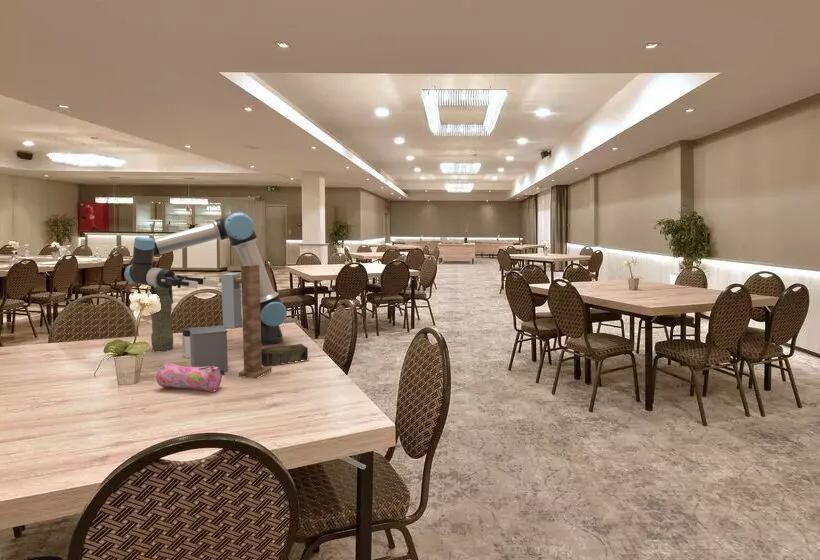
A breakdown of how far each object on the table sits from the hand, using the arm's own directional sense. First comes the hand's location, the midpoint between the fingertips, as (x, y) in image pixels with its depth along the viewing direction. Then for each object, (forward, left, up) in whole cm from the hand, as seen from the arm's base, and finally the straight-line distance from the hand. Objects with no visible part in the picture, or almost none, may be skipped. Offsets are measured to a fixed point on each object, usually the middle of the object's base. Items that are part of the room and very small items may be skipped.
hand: (207, 284), depth 202 cm
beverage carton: (-28, +10, -34) cm, 44 cm away
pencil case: (+11, +29, -33) cm, 46 cm away
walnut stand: (-10, +18, -33) cm, 39 cm away
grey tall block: (-7, +15, -15) cm, 22 cm away
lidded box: (+1, +7, -33) cm, 34 cm away
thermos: (+15, -37, -33) cm, 52 cm away
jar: (+4, -18, -33) cm, 38 cm away
